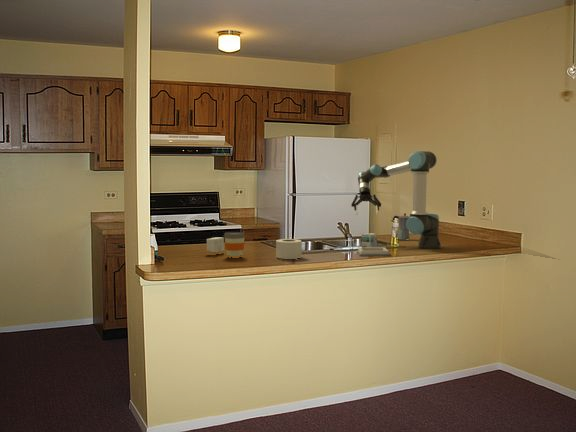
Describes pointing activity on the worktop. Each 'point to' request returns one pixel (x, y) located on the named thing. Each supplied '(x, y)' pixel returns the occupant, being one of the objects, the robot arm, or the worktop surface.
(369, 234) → the light bulb box
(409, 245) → the worktop surface
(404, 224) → the moka pot
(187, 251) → the worktop surface
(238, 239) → the reusable coffee cup
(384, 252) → the slot holder
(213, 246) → the skincare box
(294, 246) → the cream short cylinder
